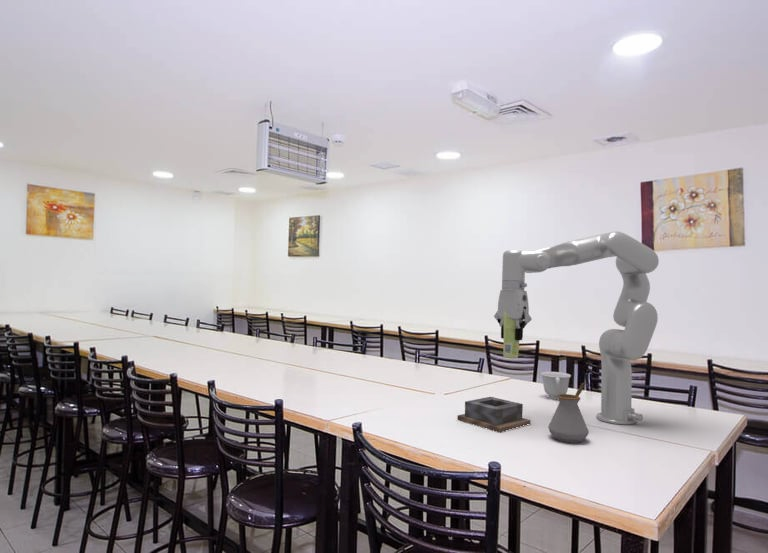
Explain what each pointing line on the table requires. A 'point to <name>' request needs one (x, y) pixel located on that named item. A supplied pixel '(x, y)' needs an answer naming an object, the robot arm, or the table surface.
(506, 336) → the tube
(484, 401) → the socket board
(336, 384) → the table surface
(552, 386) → the teacup
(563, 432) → the coffee pot
